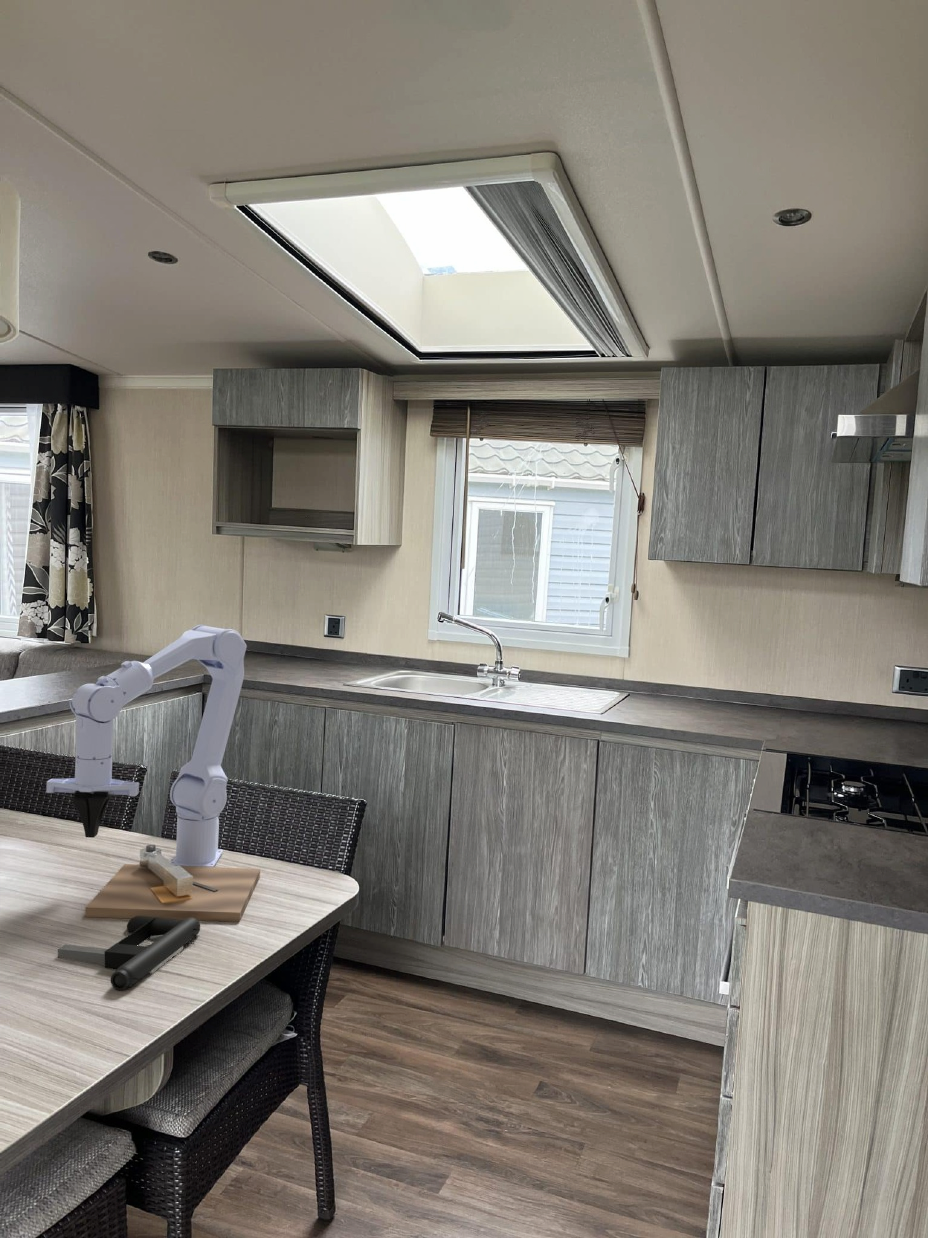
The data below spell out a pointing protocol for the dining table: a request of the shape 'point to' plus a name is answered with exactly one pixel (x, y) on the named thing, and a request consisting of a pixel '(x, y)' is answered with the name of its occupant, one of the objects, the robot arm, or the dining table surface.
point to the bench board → (146, 895)
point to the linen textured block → (166, 871)
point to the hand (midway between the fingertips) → (91, 835)
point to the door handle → (138, 948)
